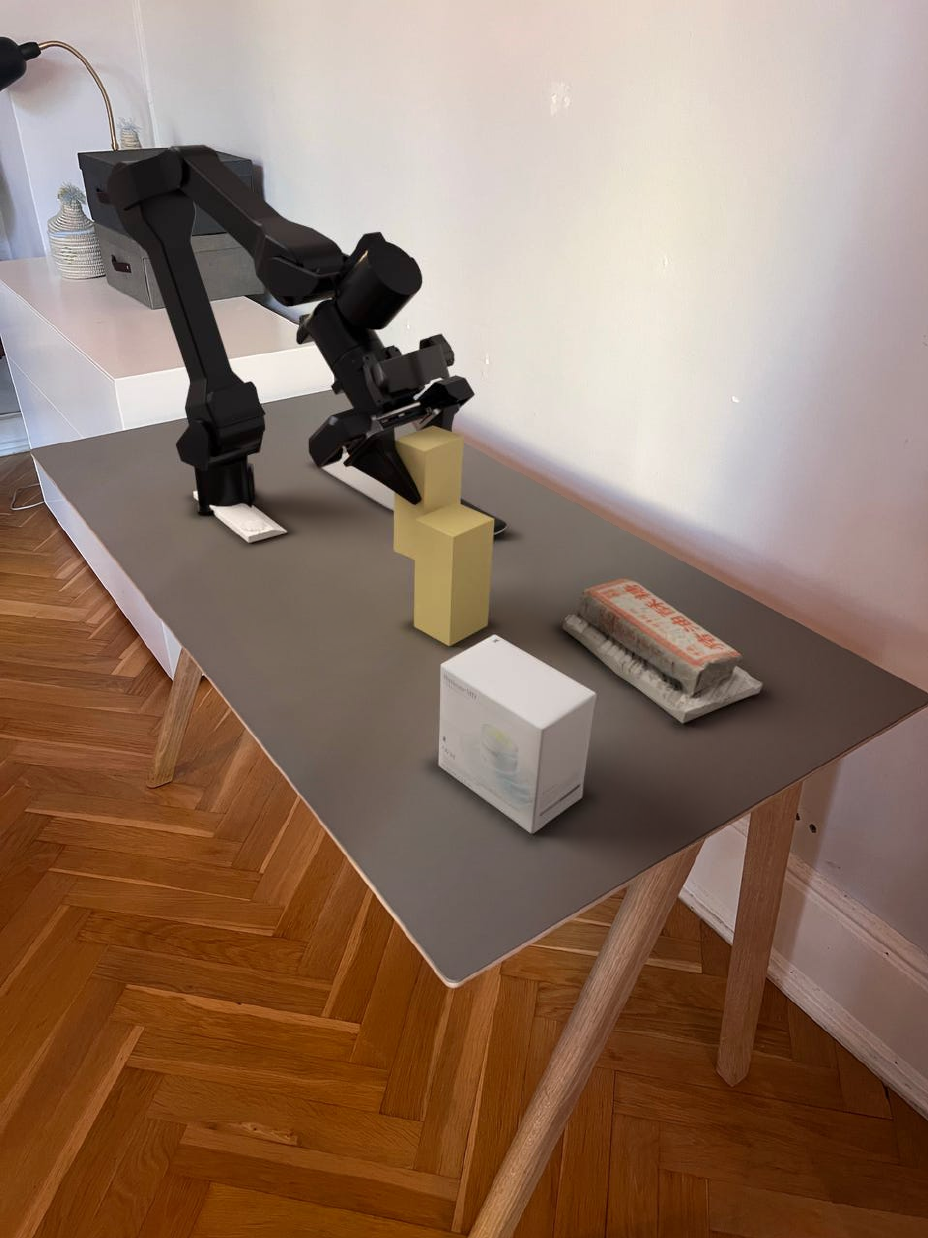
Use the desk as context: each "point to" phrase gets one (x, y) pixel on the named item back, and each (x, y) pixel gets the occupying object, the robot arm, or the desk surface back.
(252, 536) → the white flat slab
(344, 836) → the desk surface
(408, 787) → the desk surface
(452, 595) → the butter block
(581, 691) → the cosmetics box
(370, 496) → the kitchen cleaver
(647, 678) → the packaged product
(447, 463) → the yellow rectangular block
